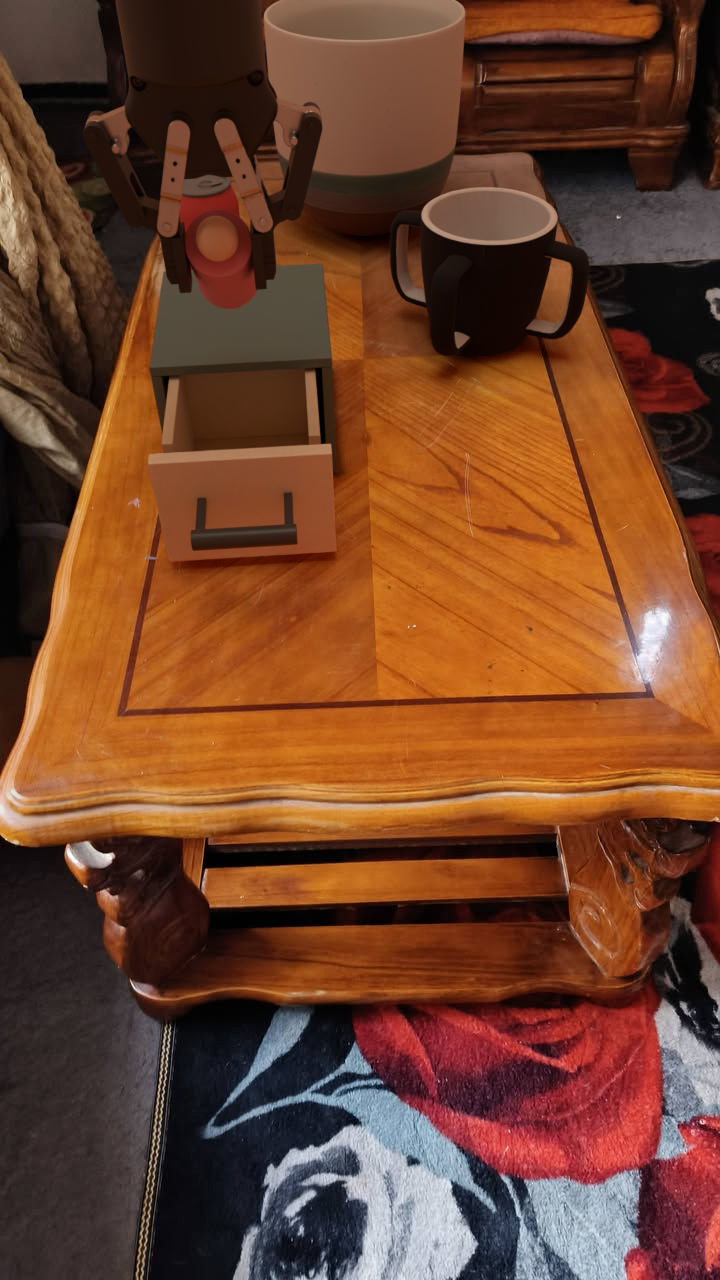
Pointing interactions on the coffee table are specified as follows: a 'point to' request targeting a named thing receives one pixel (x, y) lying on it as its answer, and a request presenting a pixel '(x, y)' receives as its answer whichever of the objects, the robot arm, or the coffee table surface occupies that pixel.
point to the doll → (221, 258)
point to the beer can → (206, 197)
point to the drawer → (243, 467)
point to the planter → (370, 101)
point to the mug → (486, 269)
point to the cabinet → (248, 336)
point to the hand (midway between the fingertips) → (224, 284)
